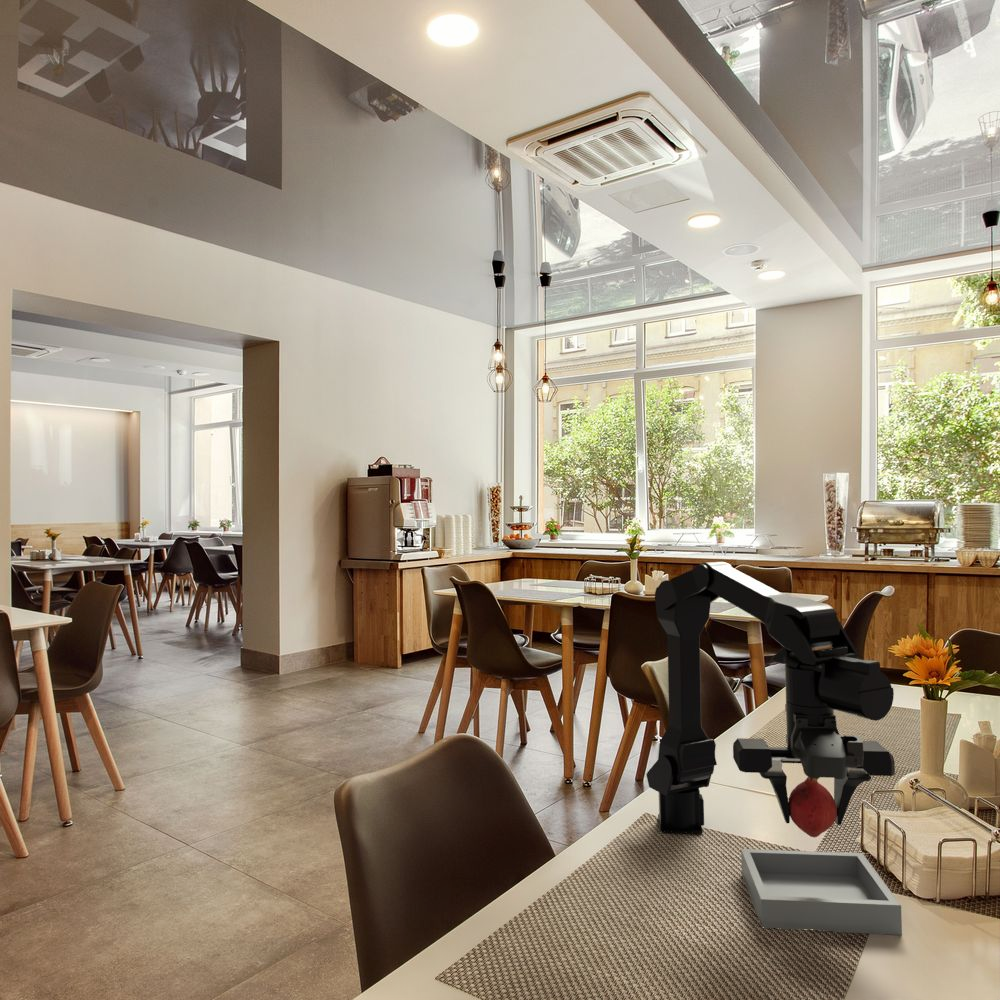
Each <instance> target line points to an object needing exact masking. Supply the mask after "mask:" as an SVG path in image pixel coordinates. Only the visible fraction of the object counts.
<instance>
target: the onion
mask: <svg viewBox="0 0 1000 1000" xmlns="http://www.w3.org/2000/svg"><path fill="white" fill-rule="evenodd" d="M818 779H819V778H818ZM818 779H814V778H810V777H808V776H807V778H806V779H805V780H804V781H802V782H800V783H798V784H797V785H796V786H795V787H794V788H793V789H792V790H791V792H790V794H789V795H788V803H789V811H790V820H792V822H793V823H794V824H795V825H796V827H797V828H799V830H800V831H802V832H803V833H805V834H806V835H807V836H809V837H811V838H817V837H819V836H820V835H822V833H825V832H826V831H828V830H829V829H831V828H832V827H833V825H834V823H836V822H835V820H836V816H837V807H836V804H835V801H834V796H832V794H831V793H830V791H829V790H828V788H826V787H825V786H824V785H822V784H821V783H819V781H818Z"/></svg>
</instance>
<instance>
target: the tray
mask: <svg viewBox="0 0 1000 1000" xmlns="http://www.w3.org/2000/svg"><path fill="white" fill-rule="evenodd" d="M740 851H741V855H740V856H741V858H740V859H741V876H742V878H743V881H744V883H745V887H746V889H747V892H748V894H749V897H750V900H751V903H752V906H753V908H754V911H755V913H757V914H756V916H758V917H757V919H758V922H759V921H760V922H759V924H761V925H760V926H761V927H760V928H762V927H764V928H763V929H765V928H776V929H775V930H786V929H809V930H810V929H813V930H825V931H824V932H827V931H835V932H834V933H847V934H848V933H851V934H853V933H854V934H870V935H871V934H872V935H892V936H893V935H894V936H895V935H896V936H902V935H903V927H902V925H903V922H902V921H903V920H902V918H903V917H902V905H901V903H900V902H899V900H898V899H897V898H896V896H895V895H894V894H893V892H892V891H891V890H890V889H889V887H888V886H887V884H886V882H884V880H883V879H882V877H881V876H880V875H879V873H878V872H877V871H876V870H875V868H874V866H873V865H872V864H871V863H870V862H869V860H868V858H866V855H864V853H863V852H862V853H861V852H839V851H810V850H807V851H806V850H785V849H784V850H782V849H781V850H779V849H758V848H757V849H755V848H752V849H751V848H741V849H740ZM777 928H779V929H777ZM780 928H781V929H780Z"/></svg>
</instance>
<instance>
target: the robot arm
mask: <svg viewBox="0 0 1000 1000" xmlns="http://www.w3.org/2000/svg"><path fill="white" fill-rule="evenodd" d="M719 598H720V599H723V600H725V602H728V603H730V604H731V605H733V606H735V607H736V608H739V610H742V611H743V612H744V613H747V614H749V615H750V616H752V617H754V618H755V619H756V620H759V621H760V622H761V623H762V624H764V626H765V629H766V632H767V633H768V635H769V636H770V637H771V638H773V639H774V641H776V642H777V643H779V644H780V646H782V647H781V649H780V650H779V651H777V652H776V653H775V654H774V655H773V656H772V657H771V659H772V661H773V662H774V663H778V664H783V665H784V671H785V674H784V675H785V678H784V681H785V703H784V704H785V706H784V707H785V709H784V710H785V711H784V712H785V715H786V718H785V719H786V721H785V722H786V734H785V739H786V740H785V741H786V747H779V746H776V747H775V746H773V747H771V746H769V745H768V743H767V742H766V741H765V739H764V738H744V737H741V738H738V737H737V739H735V741H733V744H732V754H733V755H732V758H733V760H734V762H735V765H736V767H737V768H738V770H739V771H740V772H741V773H743V772H744V773H753V774H754V773H756V774H759V775H760V776H761V777H762V779H767V780H769V782H770V784H771V787H772V788H773V792H774V794H775V796H776V799H777V802H778V806H779V808H780V810H781V811H780V812H781V813H782V814H781V815H782V816H783V819H784V822H785V823H786V824H790V822H791V821H790V820H791V817H790V811H789V803H788V801H789V795H788V790H787V789H788V788H787V779H788V778H787V777H788V776H787V774H786V773H785V771H784V770H783V764H801V766H802V768H803V769H802V771H803V773H804V775H805V776H807V777H810V778H814V779H820V778H830V779H831V778H833V799H834V801H835V804H836V807H837V816H836V820H835V822H834V823H835V824H836V825H837V826H841V825H842V823H843V819H844V818H845V815H846V812H847V809H848V806H849V804H850V802H851V799H852V797H853V795H854V792H855V791H856V790H857V788H858V787H859V786H860V785H861V784H862V783H864V782H870V781H871V779H872V777H873V776H876V777H877V776H878V777H881V776H882V777H893V776H895V775H896V769H895V767H896V766H895V764H896V763H895V762H896V761H895V759H894V755H893V754H892V753H891V752H890V751H889V750H888V749H886V748H885V746H883V745H882V744H880V742H879V741H877V740H862V737H861V736H860V734H859V735H857V734H856V735H855V734H854V735H853V734H852V735H851V734H850V735H849V734H847V735H845V734H840V732H839V729H838V728H837V719H836V718H837V717H836V715H835V713H834V712H835V711H838V712H842V713H845V714H849V715H852V716H855V717H860V718H863V719H867V720H870V721H880V720H882V719H884V718H885V717H886V716H887V715H888V713H889V712H890V711H891V708H892V705H893V702H894V696H895V695H894V694H895V693H894V688H893V687H892V684H891V682H890V679H889V678H888V676H887V675H886V674H885V673H883V672H882V671H881V663H880V662H879V661H878V660H874V659H873V660H872V659H866V660H865V659H861V658H860V654H859V652H858V651H857V648H856V647H855V644H853V642H852V641H851V639H850V637H849V636H848V634H847V632H846V630H845V628H844V627H843V625H842V623H841V621H840V619H839V618H838V612H837V611H836V609H834V608H833V607H832V606H831V605H829V604H827V603H824V602H820V601H817V600H814V599H811V598H803V597H800V596H799V597H797V596H792V595H787V594H784V593H782V592H780V591H778V590H776V589H774V588H773V587H771V586H768V585H766V584H765V583H763V582H761V581H759V580H757V579H755V578H754V577H752V576H750V575H747V574H746V573H743V572H742V571H740V570H738V569H736V568H734V567H733V566H732V565H731V564H730V563H728V562H726V561H708V562H707V561H706V562H701V563H700V564H698V565H696V566H695V567H693V568H692V569H690V570H688V571H686V572H684V573H682V574H679V575H677V576H674V577H673V578H670V579H665V580H663V581H661V582H660V583H659V585H658V586H656V588H655V591H654V601H655V609H656V617H657V620H658V622H659V623H660V625H661V626H662V628H663V630H664V632H665V633H666V636H667V672H668V673H667V675H668V676H667V681H668V682H667V683H668V685H667V686H668V726H667V727H666V730H665V731H664V733H663V735H662V737H661V739H660V741H659V747H658V756H657V760H656V762H655V763H654V764H653V765H652V766H651V768H649V770H648V771H647V772H646V778H647V784H648V787H649V788H650V789H652V790H654V791H656V792H658V814H657V819H658V825H659V830H660V833H666V834H667V833H669V834H672V833H673V834H703V833H704V832H703V826H704V825H705V808H704V807H705V804H704V803H705V801H704V797H703V795H702V794H701V792H700V791H701V790H700V788H708V787H709V785H710V782H711V778H712V775H713V774H714V771H715V766H717V764H718V763H717V759H716V748H717V747H716V746H717V745H716V741H715V740H714V739H713V738H709V737H708V735H707V733H706V732H705V730H704V728H703V727H702V700H701V699H702V698H701V697H702V696H701V695H702V694H701V692H702V691H701V690H702V689H701V688H702V687H701V683H702V682H701V646H700V645H701V641H700V640H701V639H700V637H701V634H702V632H703V630H704V629H705V627H706V625H707V623H708V621H709V619H710V612H711V604H712V603H713V602H715V601H717V600H718V599H719ZM815 649H816V650H815ZM834 710H835V711H834Z"/></svg>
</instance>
